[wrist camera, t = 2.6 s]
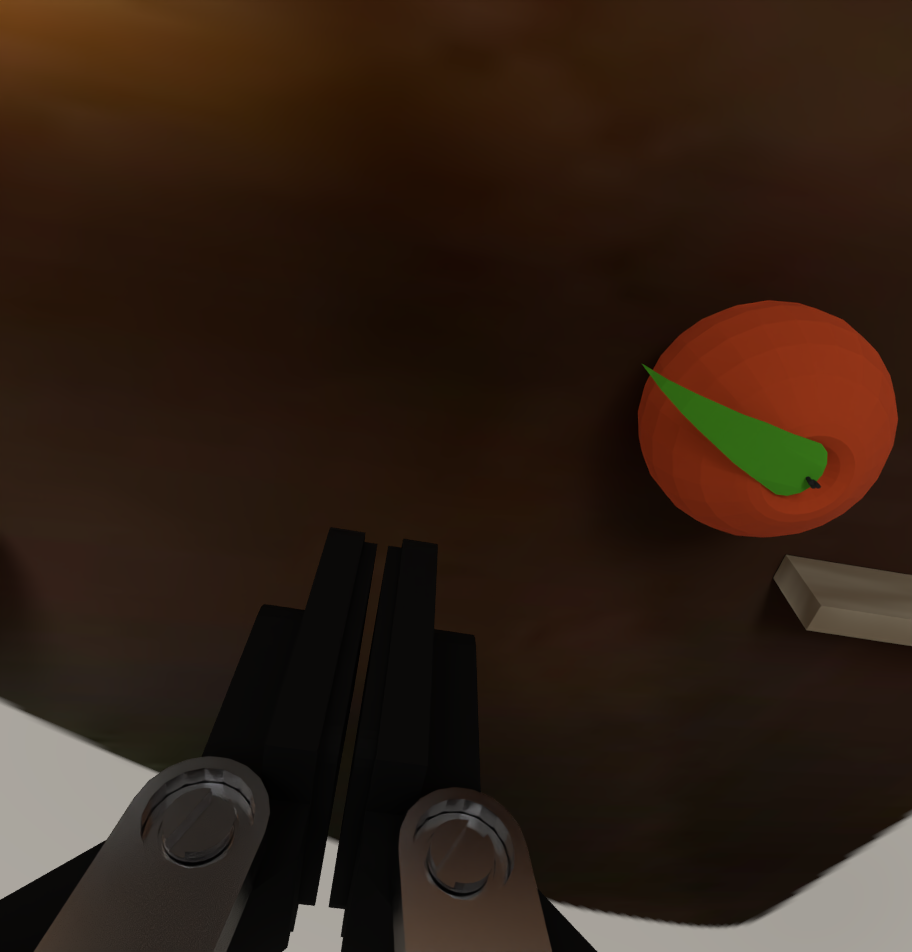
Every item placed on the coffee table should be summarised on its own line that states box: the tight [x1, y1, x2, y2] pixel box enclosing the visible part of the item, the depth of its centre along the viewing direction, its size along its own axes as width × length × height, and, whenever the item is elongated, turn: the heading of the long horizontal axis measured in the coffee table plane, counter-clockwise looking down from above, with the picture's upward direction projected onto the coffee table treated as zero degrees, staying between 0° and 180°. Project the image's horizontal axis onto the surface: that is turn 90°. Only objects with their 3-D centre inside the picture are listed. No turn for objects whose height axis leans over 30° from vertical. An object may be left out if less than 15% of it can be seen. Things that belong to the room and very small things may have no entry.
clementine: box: [638, 300, 898, 537], centre depth 20 cm, size 8×7×7 cm
